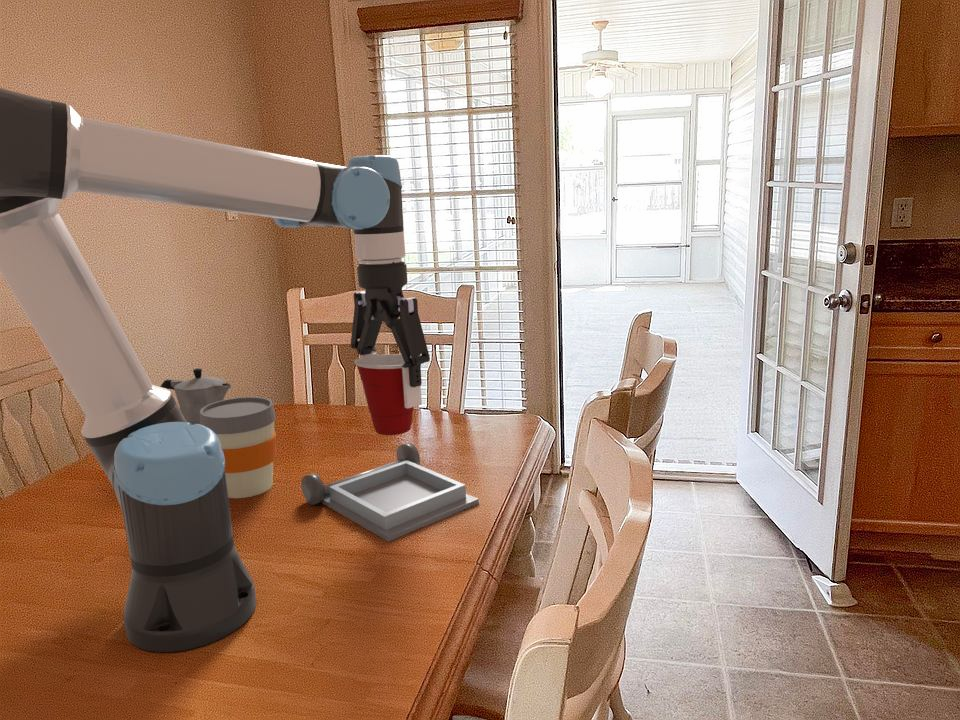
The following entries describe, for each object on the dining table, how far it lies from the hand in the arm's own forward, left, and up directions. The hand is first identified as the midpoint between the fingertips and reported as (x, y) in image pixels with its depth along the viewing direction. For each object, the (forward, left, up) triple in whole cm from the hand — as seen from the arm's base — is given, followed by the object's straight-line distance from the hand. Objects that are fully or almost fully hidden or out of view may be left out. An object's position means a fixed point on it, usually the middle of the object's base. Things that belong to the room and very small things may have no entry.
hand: (391, 399), depth 115 cm
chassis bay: (0, +1, -18) cm, 18 cm away
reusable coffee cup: (-15, +25, -18) cm, 34 cm away
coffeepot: (-14, +47, -18) cm, 52 cm away
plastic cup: (0, 0, -5) cm, 5 cm away
